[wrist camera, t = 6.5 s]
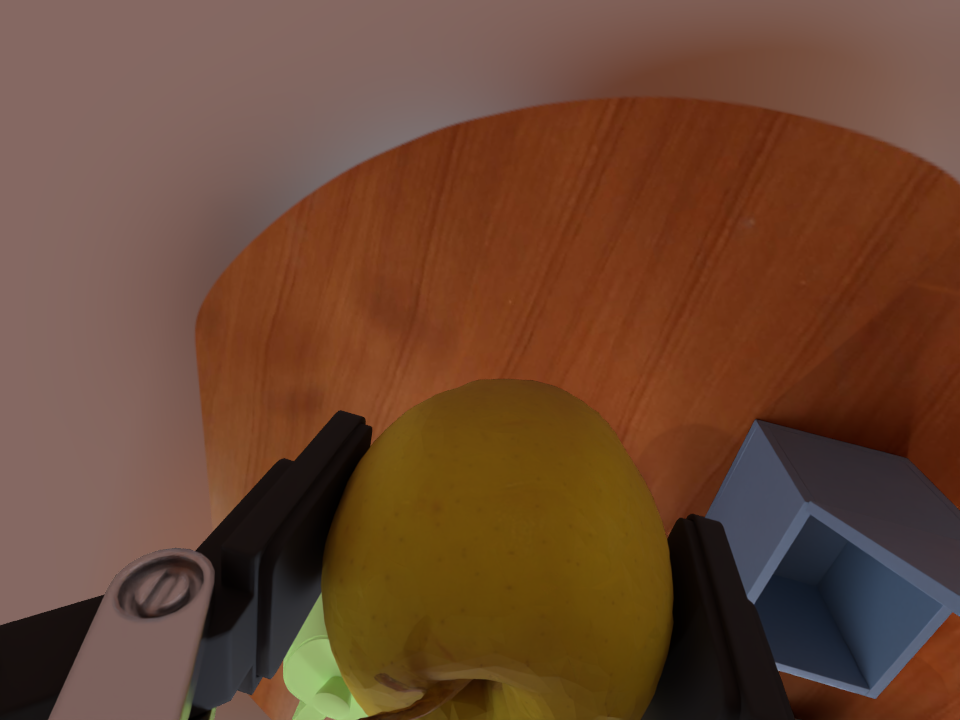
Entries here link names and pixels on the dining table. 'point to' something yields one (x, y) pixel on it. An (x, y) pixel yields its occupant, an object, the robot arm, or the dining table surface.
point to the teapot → (317, 674)
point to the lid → (902, 551)
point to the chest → (829, 554)
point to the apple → (498, 564)
